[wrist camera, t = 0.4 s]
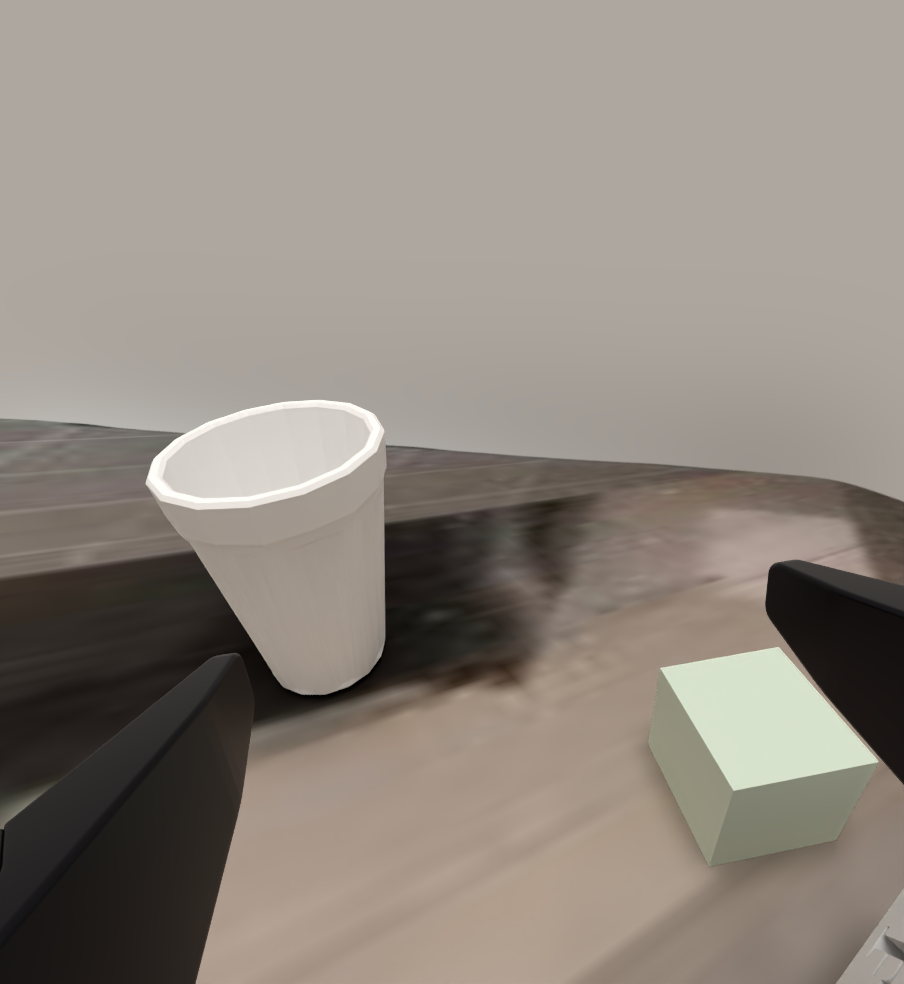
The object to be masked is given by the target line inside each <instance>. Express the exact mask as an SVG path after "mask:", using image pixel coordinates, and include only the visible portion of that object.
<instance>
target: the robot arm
mask: <svg viewBox="0 0 904 984" xmlns="http://www.w3.org/2000/svg"><path fill="white" fill-rule="evenodd" d="M765 606H766V612H767V615H768V617H769V619H770V620H771V622H772V623H773V624H774V626H775V627H776V629H777V630H778V631H779V633H780V634H781V636H782V637H783V638H784V640H785V641H786V642H787V644H788V645H789V647H790V648H791V649H792V651H793V652H794V653H795V655H796V656H797V658H798V659H799V660H800V662H801V663H802V664H803V666H804V667H805V669H806V670H807V671H808V673H809V674H810V676H811V677H812V678H813V680H814V681H815V682H816V684H817V685H818V686H819V688H820V689H821V690H822V691H823V693H824V694H825V695H826V696H827V698H828V699H829V700H830V701H831V702H832V704H833V705H834V706H835V707H836V708H837V709H838V710H839V712H840V713H841V714H842V715H843V716H844V717H845V718H846V720H847V721H848V722H849V723H850V724H851V725H852V726H853V728H854V729H855V730H856V731H857V732H858V733H859V734H860V736H861V737H862V738H863V739H864V740H865V741H866V742H867V743H868V745H869V746H870V747H871V748H872V749H873V750H874V751H875V753H876V754H877V755H878V756H879V757H880V758H881V759H882V761H883V762H884V763H885V764H886V765H887V766H888V767H889V769H890V770H891V771H892V772H893V773H894V774H895V775H896V777H897V778H898V779H899V780H900V781H901V782H902V783H903V785H904V586H903V585H899V584H895V583H891V582H887V581H883V580H878V579H874V578H870V577H866V576H862V575H858V574H854V573H850V572H846V571H842V570H838V569H834V568H830V567H826V566H822V565H818V564H814V563H810V562H806V561H801V560H790V561H784V562H778V563H774V564H773V565H772V566H771V567H770V569H769V574H768V583H767V593H766V602H765ZM253 714H254V695H253V691H252V688H251V684H250V681H249V678H248V675H247V671H246V668H245V665H244V662H243V659H242V658H241V656H240V655H239V654H237V653H232V654H226V655H220V656H214V657H212V658H210V659H209V660H208V661H206V662H205V663H204V664H203V665H201V666H200V667H199V668H198V669H197V670H195V671H194V672H193V673H192V674H190V675H189V676H188V677H187V678H185V679H184V680H183V681H182V682H180V683H179V684H178V685H177V686H176V687H174V688H173V689H172V690H171V691H169V692H168V693H167V694H166V695H164V696H163V697H162V698H161V699H159V700H158V701H157V702H156V703H155V704H153V705H152V706H151V707H150V708H148V709H147V710H146V711H145V712H143V713H142V714H141V715H140V716H138V717H137V718H136V719H135V720H133V721H132V722H131V723H130V724H129V725H127V726H126V727H125V728H124V729H122V730H121V731H120V732H119V733H117V734H116V735H115V736H114V737H112V738H111V739H110V740H109V741H108V742H106V743H105V744H104V745H103V746H101V747H100V748H99V749H98V750H96V751H95V752H94V753H93V754H91V755H90V756H89V757H88V758H87V759H85V760H84V761H83V762H82V763H80V764H79V765H78V766H77V767H75V768H74V769H73V770H72V771H70V772H69V773H68V774H67V775H65V776H64V777H63V778H62V779H61V780H59V781H58V782H57V783H56V784H54V785H53V786H52V787H51V788H49V789H48V790H47V791H46V792H44V793H43V794H42V795H41V796H40V797H38V798H37V799H36V800H35V801H33V802H32V803H31V804H30V805H28V806H27V807H26V808H25V809H23V810H22V811H21V812H20V813H18V814H17V815H16V816H15V817H14V818H12V819H11V820H10V821H9V822H7V823H6V824H5V827H4V830H3V829H0V984H195V983H196V979H197V975H198V971H199V967H200V964H201V960H202V956H203V952H204V948H205V944H206V940H207V936H208V932H209V928H210V924H211V920H212V916H213V912H214V908H215V904H216V900H217V896H218V892H219V888H220V884H221V880H222V876H223V872H224V868H225V864H226V860H227V856H228V853H229V849H230V845H231V841H232V837H233V833H234V829H235V825H236V821H237V817H238V812H239V808H240V804H241V799H242V793H243V786H244V779H245V772H246V765H247V757H248V750H249V743H250V736H251V728H252V721H253Z"/></svg>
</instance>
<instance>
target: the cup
mask: <svg viewBox="0 0 904 984" xmlns="http://www.w3.org/2000/svg"><path fill="white" fill-rule="evenodd" d="M385 470H386V448H385V431H384V429H383V427H382V426H381V424H380V422H379V421H378V419H377V417H376V416H375V415H374V414H373V413H371V412H369V411H367V410H364V409H362V408H360V407H357V406H355V405H353V404H350V403H342V402H334V401H325V400H310V401H293V402H281V403H276V404H272V405H267V406H261V407H256V408H251V409H246V410H243V411H240V412H237V413H234V414H231V415H228V416H225V417H222V418H219V419H216V420H213V421H210V422H207V423H206V424H204V425H202V426H200V427H198V428H196V429H194V430H192V431H191V432H188V433H186V434H184V435H183V436H181V437H179V438H177V439H175V440H174V441H173V442H172V443H171V444H170V445H169V446H167V447H166V448H165V449H164V450H163V451H162V452H161V453H160V454H159V455H157V456H156V457H155V458H154V460H153V462H152V464H151V468H150V471H149V474H148V477H147V480H146V485H147V487H148V488H149V490H150V492H151V493H152V495H153V496H154V498H155V500H156V501H157V503H158V505H159V506H160V508H161V510H162V511H163V513H164V514H165V516H166V518H167V519H168V520H169V521H170V523H171V524H172V525H173V527H174V528H175V529H176V530H177V532H178V533H179V534H180V536H181V537H182V538H184V539H185V540H187V541H188V542H189V543H190V544H191V545H192V547H193V549H194V550H195V552H196V553H197V555H198V556H199V558H200V559H201V561H202V563H203V564H204V566H205V567H206V569H207V570H208V572H209V574H210V575H211V577H212V578H213V580H214V581H215V583H216V584H217V586H218V588H219V589H220V591H221V592H222V594H223V595H224V597H225V599H226V600H227V602H228V603H229V605H230V606H231V608H232V609H233V611H234V613H235V614H236V616H237V617H238V619H239V620H240V622H241V624H242V625H243V627H244V628H245V630H246V631H247V633H248V635H249V636H250V638H251V639H252V641H253V642H254V644H255V645H256V647H257V649H258V650H259V652H260V653H261V655H262V656H263V658H264V660H265V661H266V663H267V664H268V666H269V667H270V669H271V670H272V673H273V675H274V676H275V677H276V679H277V680H278V681H279V683H280V684H281V685H282V686H283V687H284V688H286V689H289V690H291V691H294V692H296V693H299V694H302V695H326V694H329V693H332V692H335V691H338V690H341V689H344V688H347V687H349V686H351V685H352V684H354V683H355V682H357V681H358V680H359V679H361V678H362V677H364V676H365V675H367V674H368V673H369V672H370V671H371V670H372V668H373V667H374V665H375V664H376V663H377V661H378V660H379V658H380V657H381V655H382V651H383V647H384V642H385V566H384V478H383V477H384V473H385Z"/></svg>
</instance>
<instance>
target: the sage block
mask: <svg viewBox="0 0 904 984" xmlns="http://www.w3.org/2000/svg"><path fill="white" fill-rule="evenodd" d="M648 745H649V747H650V749H651V751H652V753H653V755H654V757H655V759H656V761H657V763H658V765H659V767H660V769H661V771H662V773H663V775H664V777H665V779H666V781H667V783H668V785H669V787H670V789H671V791H672V793H673V795H674V797H675V799H676V801H677V803H678V805H679V807H680V810H681V812H682V814H683V816H684V818H685V820H686V822H687V824H688V826H689V828H690V830H691V832H692V834H693V836H694V838H695V840H696V842H697V844H698V846H699V848H700V850H701V852H702V854H703V856H704V858H705V860H706V862H707V864H708V866H709V867H710V866H715V865H720V864H725V863H730V862H734V861H739V860H744V859H749V858H754V857H758V856H763V855H768V854H773V853H778V852H782V851H787V850H792V849H797V848H802V847H806V846H811V845H816V844H821V843H826V842H830V841H835V840H837V838H838V837H839V835H840V833H841V831H842V829H843V827H844V826H845V824H846V822H847V820H848V818H849V816H850V815H851V813H852V811H853V809H854V807H855V805H856V803H857V802H858V800H859V798H860V796H861V794H862V792H863V791H864V789H865V787H866V785H867V783H868V781H869V780H870V778H871V776H872V774H873V772H874V770H875V769H876V767H877V765H878V763H879V761H878V760H877V759H876V758H875V757H874V756H873V754H872V753H871V752H870V751H869V750H868V749H867V748H866V746H865V745H864V744H863V743H862V742H861V741H860V740H859V738H858V737H857V736H856V735H855V734H854V733H853V732H852V730H851V729H850V728H849V727H848V726H847V725H846V724H845V722H844V721H843V720H842V719H841V718H840V717H839V716H838V714H837V713H836V712H835V711H834V710H833V709H832V708H831V706H830V705H829V704H828V703H827V702H826V701H825V700H824V698H823V697H822V696H821V695H820V694H819V693H818V692H817V690H816V689H815V688H814V687H813V686H812V685H811V683H810V682H809V681H808V680H807V679H806V678H805V677H804V675H803V674H802V673H801V672H800V671H799V670H798V669H797V667H796V666H795V665H794V664H793V663H792V662H791V661H790V659H789V658H788V657H787V656H786V655H785V654H784V653H783V651H782V650H781V649H780V648H779V647H776V648H770V649H765V650H759V651H753V652H748V653H742V654H737V655H731V656H725V657H720V658H714V659H709V660H703V661H697V662H692V663H686V664H680V665H675V666H669V667H664V668H660V672H659V679H658V685H657V691H656V697H655V703H654V709H653V715H652V721H651V727H650V733H649V739H648Z"/></svg>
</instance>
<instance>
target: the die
mask: <svg viewBox="0 0 904 984" xmlns="http://www.w3.org/2000/svg"><path fill="white" fill-rule="evenodd" d="M836 984H904V889H903V890H902V891H901V893H900V894H899V896H898V897H897V898H896V900H895V901H894V903H893V904H892V905H891V907H890V908H889V910H888V911H887V912H886V914H885V915H884V917H883V918H882V920H881V921H880V922H879V924H878V925H877V927H876V928H875V929H874V931H873V932H872V934H871V935H870V936H869V938H868V939H867V941H866V942H865V943H864V945H863V946H862V948H861V949H860V950H859V952H858V953H857V955H856V956H855V958H854V959H853V960H852V962H851V963H850V965H849V966H848V967H847V969H846V970H845V972H844V973H843V974H842V976H841V977H840V979H839V980H838V981H837V983H836Z"/></svg>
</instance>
